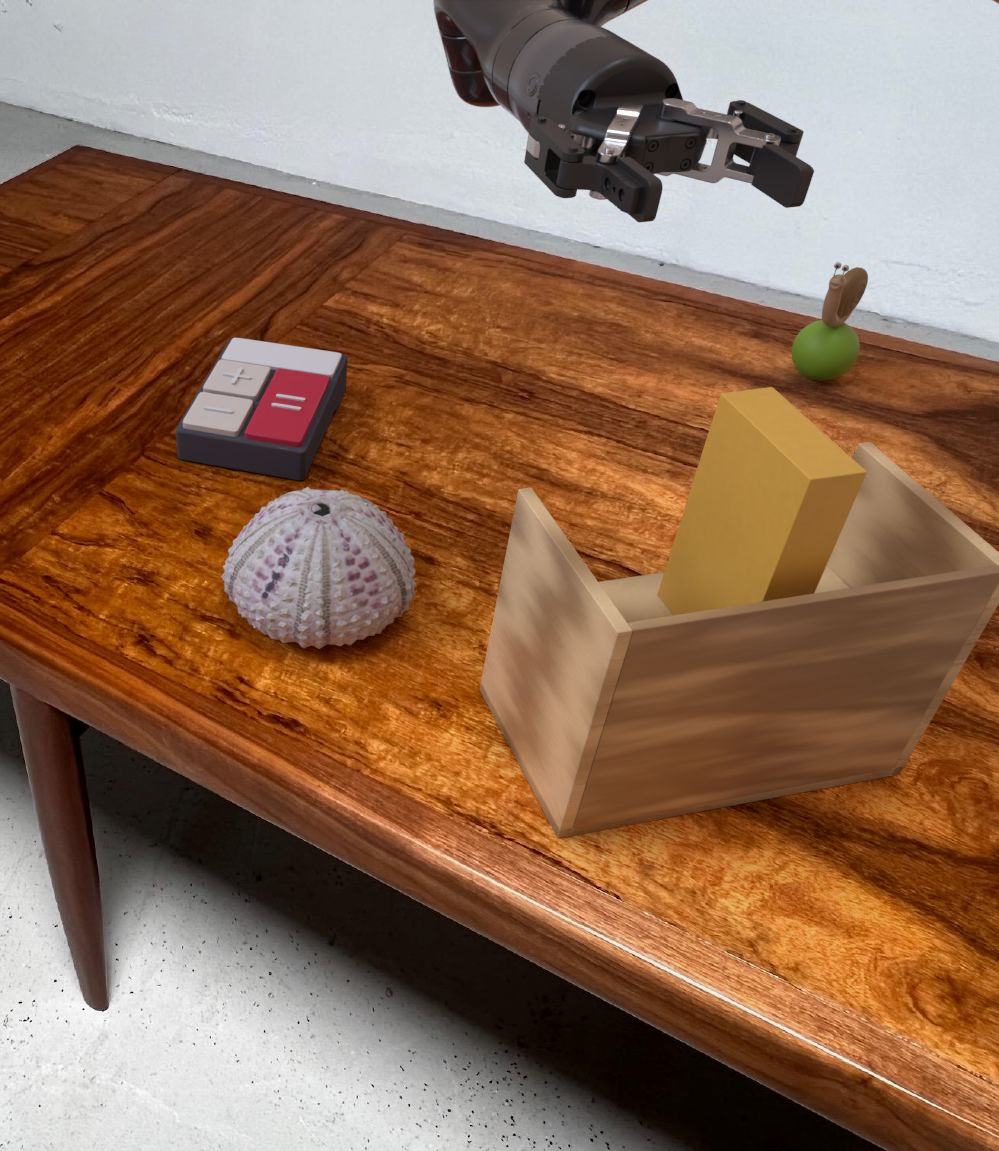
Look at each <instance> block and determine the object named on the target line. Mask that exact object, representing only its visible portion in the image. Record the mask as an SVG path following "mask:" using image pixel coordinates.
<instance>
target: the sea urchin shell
mask: <svg viewBox="0 0 999 1151" xmlns="http://www.w3.org/2000/svg"><path fill="white" fill-rule="evenodd" d="M404 536H405V533H403V532H400V531H399V530H398V527H397V526H396V525H394V522H393V519H392V518H389V517H388V516H387V512H386V511H383V510H382V511H381V510H380V509H379V506H378V505H375V504H374V503H373V501H371V500H368V499H366V498H363V497H361V496H360V495H358V494H354V493H351V492H349V491H347V490H345V491H344V489H341V490H334V489H333V490H331V489H330V490H329V489H313V488H310V487H309V486H307V487H305V488H302V489H301V490H300V489H299V490H293V491H290V492H287V493H285V494H282V495H280V496H279V497H276V498H275V499H274V500H271V501H268V503H267V505H266V506H261V507H260V510H259V512H257V513H255V514H254V516H253V517H252V518H251V519H249V522H248V523H247V524H245V525H244V526H243V528H242V530H241V531H240V532H239V534H238V535H237V536H236V538H234V539H233V540H232V546H230V547H229V548H228V550H227V552H228V556H227V558H226V560H225V561H224V563H225V564H224V565H222V568H223V570H224V572H223V573H222V575H221V576H220V578H221V579H222V581H223V582H224V583H223V586H224V592H225V593H226V594H227V595H228V600H229V601H231V602H232V603H234V604H235V605H236V607H237V613H238V614H239V615H241V618H244V619H245V620H247V622H248V624H249V626H252V627H253V629H254V630H255V629H256V630H258V631H259V632H260V633H261V634H263V635H265V636H269V638H270V639H271V640H275V641H276V640H279V641H280V642H281V643H283V644H287V643H296V644H298V645H299V646H300V647H301V648H302V649H306V648H308V647H311V646H312V647H314V648H316V649H318V650H320V649H322V648H324V647H326V645H335V646H338V647H342V646H344V645H348V646H352V645H353V644H354V643H355V642H356V641H357V640H363V641H364V640H365V639H366V638H367V637H369V636H371V637H373V636H375V635H376V634H378V635H379V634H380V635H381V634H382V631H383V630H385V628H386V627H387V626H388V625H391V624H393V623H394V621H395V618H400V617H403V614H404V612H406V611H409V610H410V604H412V600H413V598H414V597H415V596H417V592H416V591H415V587H416V585H417V583H416V581H415V580H414V577H415V574H416V572H417V571H416V569H415V567H414V564H415V557H414V556H413V555H412V549H411V548H409V547H408V545H407V542H406V540H405V539H404V538H405V537H404Z"/></svg>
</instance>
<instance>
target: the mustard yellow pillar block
mask: <svg viewBox="0 0 999 1151" xmlns="http://www.w3.org/2000/svg"><path fill="white" fill-rule="evenodd" d="M711 420H712V421H711V423H710V426H709V430H708V432H707V436H706V438H705V442H704V446H703V449H702V452H701V455H700V458H699V461H698V463H697V468H696V470H695V473H694V477H693V480H692V484H691V487H690V490H689V493H688V495H687V499H686V503H685V506H684V508H683V512H682V515H681V519H680V521H679V525H678V528H677V530H676V533H675V534H676V535H675V537H674V541H673V543H672V547H671V550H670V554H669V557H668V559H667V562H666V566H665V569H664V571H663V572H664V575H663V578H662V581H661V585H660V588H659V591H658V596H659V597H660V598H661V600H662V601H663V602H664V604H665V605H666V606H667V608H668V609H669V610H670V612H671V613H672V614H673V616H674V615H680V614H686V613H693V612H699V611H706V610H712V609H718V608H725V607H731V606H737V605H744V604H750V603H757V602H763V601H769V600H776V599H782V598H788V597H795V596H801V595H808V594H814V593H815V591H816V588H817V586H818V584H819V581H820V579H821V577H822V575H823V572H824V570H825V568H826V565H827V563H828V561H829V558H830V556H831V554H832V552H833V549H834V547H835V545H836V542H837V540H838V538H839V535H840V533H841V531H842V529H843V526H844V524H845V522H846V519H847V517H848V515H849V512H850V510H851V508H852V506H853V503H854V501H855V499H856V496H857V494H858V492H859V489H860V487H861V485H862V483H863V480H864V478H865V476H866V473H867V471H866V470H865V469H863V468H862V467H861V466H860V465H859V464H858V463H857V462H856V461H855V460H853V459H852V456H850V455H849V454H848V453H847V452H846V451H845V450H844V449H843V448H841V447H840V445H838V444H837V443H836V442H835V441H833V439H831V438H830V437H829V436H828V435H827V434H826V433H825V432H823V431H822V430H821V429H820V428H819V427H818V426H817V425H816V424H814V423H813V421H811V420H810V419H809V418H808V417H807V416H806V415H805V414H803V413H802V412H801V411H800V410H799V409H798V408H797V407H796V406H794V405H793V404H792V403H791V402H790V401H789V400H788V399H787V398H786V397H784V396H783V395H782V394H781V393H780V392H778V390H776V389H775V388H774V387H773V386H768V387H761V388H760V387H759V388H752V389H751V388H750V389H743V390H735V391H728V392H727V391H726V392H721V393H720V395H719V398H718V401H717V404H716V408H715V411H714V414H713V417H712V419H711Z"/></svg>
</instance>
